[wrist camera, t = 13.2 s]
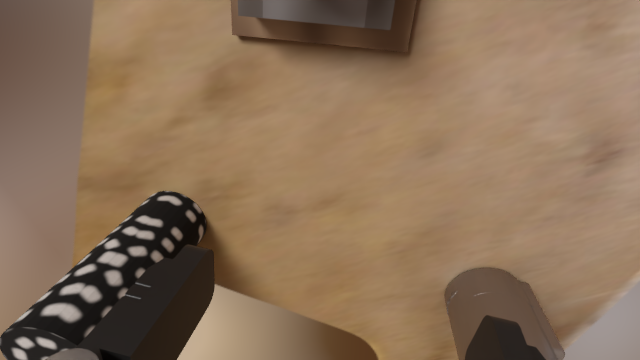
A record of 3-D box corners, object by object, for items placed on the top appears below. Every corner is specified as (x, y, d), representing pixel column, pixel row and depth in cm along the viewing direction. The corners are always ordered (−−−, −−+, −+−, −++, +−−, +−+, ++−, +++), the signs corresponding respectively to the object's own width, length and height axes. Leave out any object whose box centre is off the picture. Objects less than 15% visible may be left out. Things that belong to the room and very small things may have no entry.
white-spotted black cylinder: (219, 231, 45) (123, 383, 28) (174, 252, 48) (60, 402, 30) (177, 180, 42) (39, 314, 25) (131, 206, 45) (-21, 343, 28)
